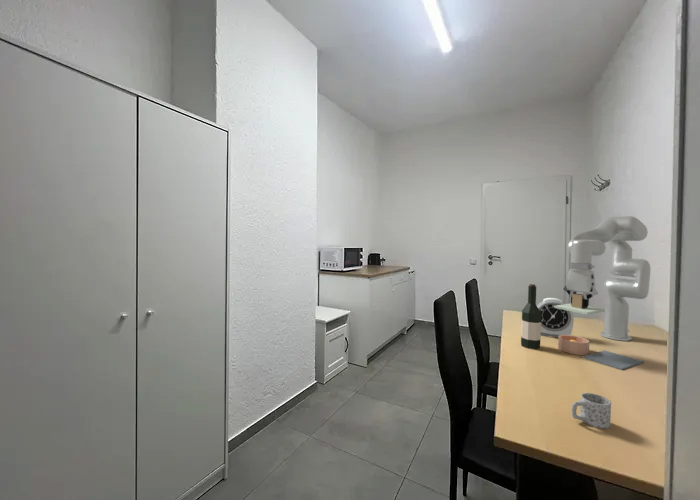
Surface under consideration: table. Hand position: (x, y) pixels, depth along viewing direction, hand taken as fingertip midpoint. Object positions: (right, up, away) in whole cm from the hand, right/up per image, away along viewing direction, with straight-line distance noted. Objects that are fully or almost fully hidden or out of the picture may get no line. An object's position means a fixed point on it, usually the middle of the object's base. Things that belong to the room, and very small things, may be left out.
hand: (579, 306), depth 142 cm
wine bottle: (-18, -21, +7) cm, 29 cm away
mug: (-38, -23, -55) cm, 71 cm away
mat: (+7, -22, -9) cm, 25 cm away
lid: (0, -2, 0) cm, 2 cm away
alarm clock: (+3, -20, +24) cm, 32 cm away
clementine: (-1, -18, +2) cm, 18 cm away
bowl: (-1, -21, +2) cm, 21 cm away
